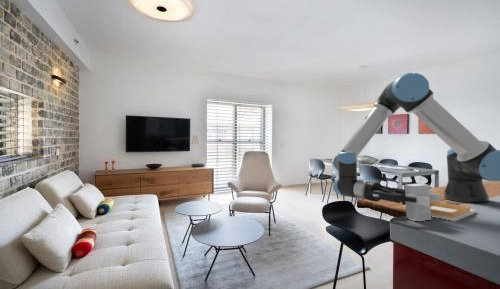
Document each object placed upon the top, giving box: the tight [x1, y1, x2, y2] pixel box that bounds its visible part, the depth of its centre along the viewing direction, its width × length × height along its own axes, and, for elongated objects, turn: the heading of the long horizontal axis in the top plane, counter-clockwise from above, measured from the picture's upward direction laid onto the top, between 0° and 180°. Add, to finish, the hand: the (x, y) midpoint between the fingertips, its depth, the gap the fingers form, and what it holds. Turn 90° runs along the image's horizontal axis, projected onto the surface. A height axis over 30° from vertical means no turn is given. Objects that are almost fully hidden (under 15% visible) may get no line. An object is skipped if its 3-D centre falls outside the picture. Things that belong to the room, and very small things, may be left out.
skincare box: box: [404, 183, 432, 222], centre depth 83 cm, size 6×4×12 cm
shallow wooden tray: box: [430, 201, 477, 223], centre depth 90 cm, size 18×13×3 cm
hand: (434, 200), depth 79 cm, fingers closed on skincare box, 7 cm apart
